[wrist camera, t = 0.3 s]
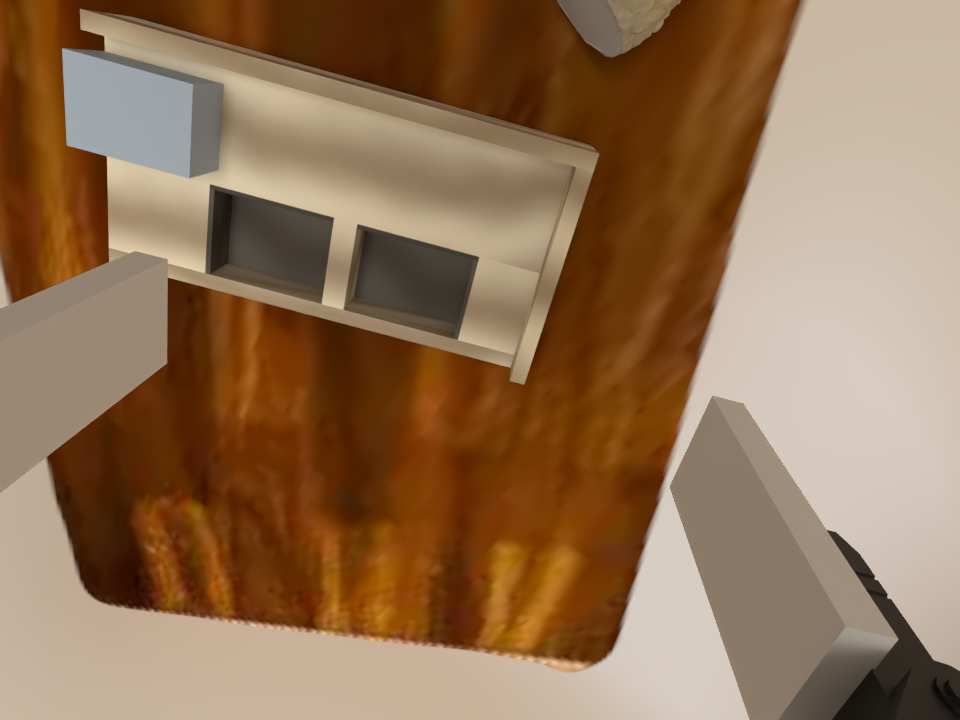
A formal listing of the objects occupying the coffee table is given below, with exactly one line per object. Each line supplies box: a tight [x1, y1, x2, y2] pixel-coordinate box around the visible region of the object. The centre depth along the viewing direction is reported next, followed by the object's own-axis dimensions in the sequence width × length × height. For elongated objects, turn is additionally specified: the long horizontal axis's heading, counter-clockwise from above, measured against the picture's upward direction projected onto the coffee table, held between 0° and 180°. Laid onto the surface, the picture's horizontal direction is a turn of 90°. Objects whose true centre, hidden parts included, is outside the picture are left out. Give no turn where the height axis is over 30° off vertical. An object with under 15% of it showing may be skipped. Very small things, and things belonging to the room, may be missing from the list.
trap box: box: [80, 9, 599, 385], centre depth 38 cm, size 15×29×5 cm, turn 76°
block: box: [62, 48, 223, 178], centre depth 34 cm, size 5×7×4 cm
